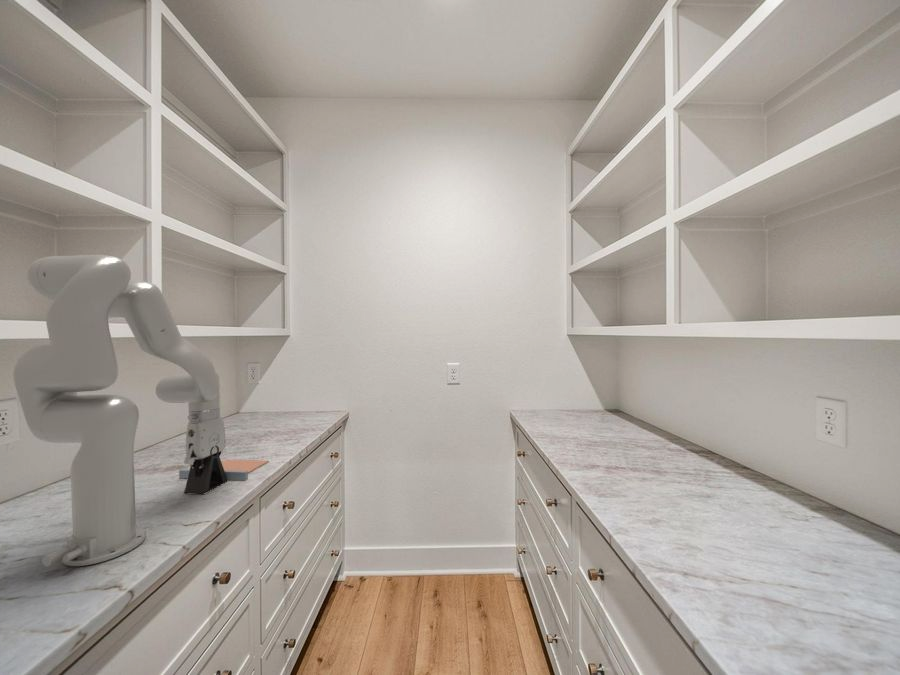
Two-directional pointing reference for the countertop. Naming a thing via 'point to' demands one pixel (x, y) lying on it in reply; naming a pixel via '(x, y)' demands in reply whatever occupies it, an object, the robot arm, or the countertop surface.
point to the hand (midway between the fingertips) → (206, 478)
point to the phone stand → (206, 475)
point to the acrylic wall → (229, 474)
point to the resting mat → (242, 465)
